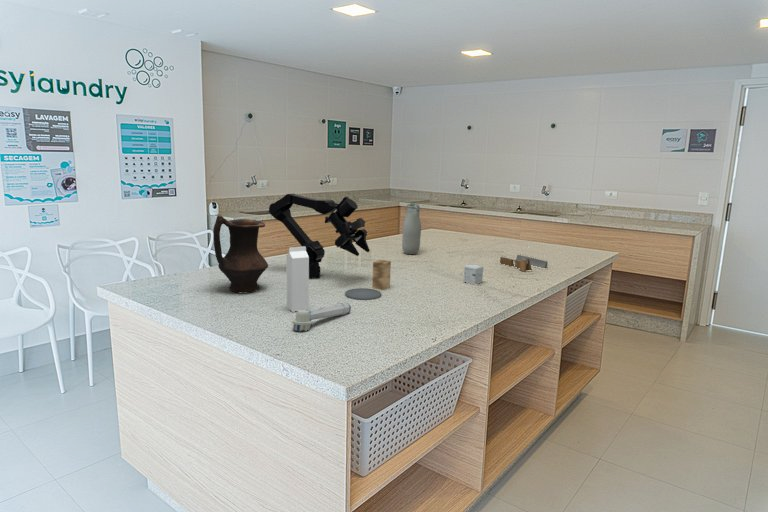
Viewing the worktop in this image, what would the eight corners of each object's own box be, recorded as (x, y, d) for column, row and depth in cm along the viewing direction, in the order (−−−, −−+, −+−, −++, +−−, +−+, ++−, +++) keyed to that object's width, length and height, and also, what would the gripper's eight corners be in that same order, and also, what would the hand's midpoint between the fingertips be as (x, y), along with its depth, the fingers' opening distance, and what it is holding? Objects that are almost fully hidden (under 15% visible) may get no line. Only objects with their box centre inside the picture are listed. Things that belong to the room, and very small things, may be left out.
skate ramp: (561, 270, 255) (562, 255, 253) (513, 278, 235) (514, 262, 234) (516, 259, 279) (517, 246, 277) (469, 266, 259) (469, 251, 258)
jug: (253, 281, 214) (251, 209, 208) (277, 290, 201) (276, 214, 195) (204, 289, 199) (201, 212, 193) (227, 299, 186) (225, 218, 180)
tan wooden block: (372, 288, 208) (373, 262, 206) (378, 285, 213) (378, 259, 211) (384, 290, 206) (385, 263, 204) (389, 287, 211) (390, 261, 209)
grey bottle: (400, 255, 278) (402, 203, 273) (403, 251, 288) (405, 202, 282) (418, 256, 277) (421, 204, 271) (420, 252, 286) (423, 202, 281)
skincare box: (463, 282, 223) (464, 266, 221) (470, 280, 227) (471, 264, 226) (474, 285, 219) (476, 268, 217) (482, 283, 223) (483, 266, 222)
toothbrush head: (353, 303, 174) (302, 310, 153) (351, 322, 175) (300, 332, 154) (341, 300, 177) (290, 307, 156) (339, 319, 178) (288, 328, 157)
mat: (349, 300, 190) (349, 298, 190) (341, 291, 203) (341, 289, 203) (385, 298, 194) (385, 296, 194) (375, 289, 207) (375, 287, 207)
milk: (308, 310, 177) (309, 248, 173) (292, 312, 174) (292, 249, 170) (302, 305, 182) (303, 244, 178) (286, 307, 179) (286, 245, 175)
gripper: (341, 214, 201) (366, 244, 199) (363, 210, 218) (386, 238, 215) (324, 232, 206) (347, 262, 204) (347, 226, 223) (369, 254, 220)
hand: (363, 253), depth 211 cm, fingers open, 9 cm apart
